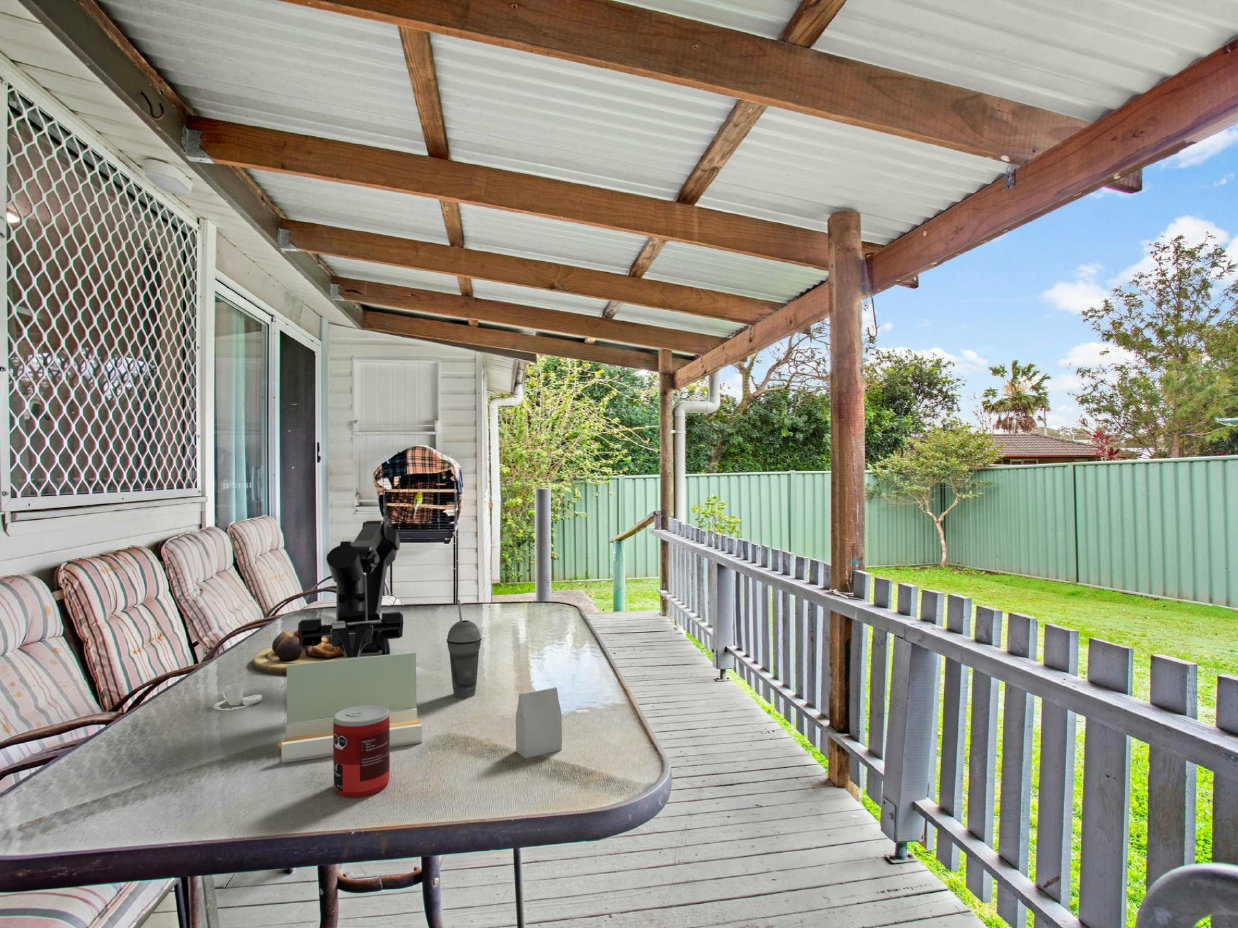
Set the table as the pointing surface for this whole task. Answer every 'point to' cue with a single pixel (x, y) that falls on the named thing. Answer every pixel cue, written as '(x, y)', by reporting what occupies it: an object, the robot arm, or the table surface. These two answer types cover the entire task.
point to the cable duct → (325, 744)
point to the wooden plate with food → (293, 653)
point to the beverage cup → (464, 656)
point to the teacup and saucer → (237, 697)
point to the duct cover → (350, 685)
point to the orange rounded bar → (332, 733)
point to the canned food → (361, 750)
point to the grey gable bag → (538, 723)
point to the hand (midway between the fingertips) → (352, 668)
